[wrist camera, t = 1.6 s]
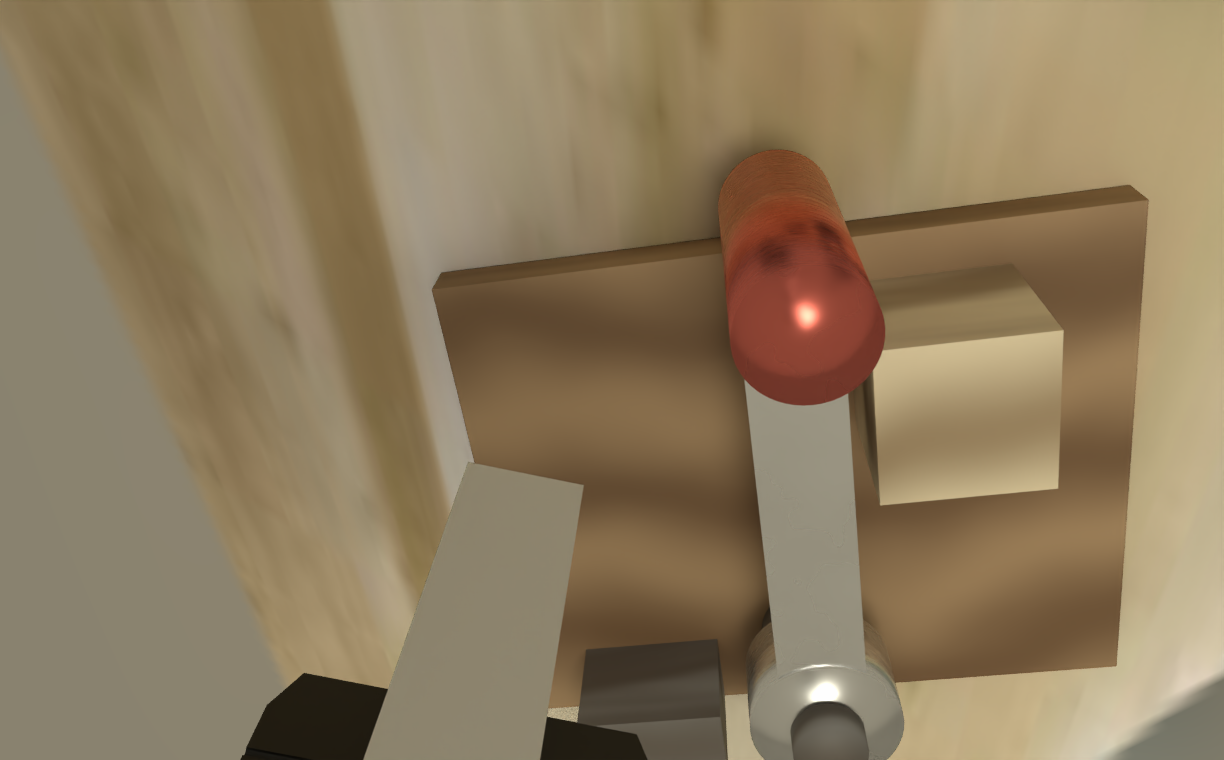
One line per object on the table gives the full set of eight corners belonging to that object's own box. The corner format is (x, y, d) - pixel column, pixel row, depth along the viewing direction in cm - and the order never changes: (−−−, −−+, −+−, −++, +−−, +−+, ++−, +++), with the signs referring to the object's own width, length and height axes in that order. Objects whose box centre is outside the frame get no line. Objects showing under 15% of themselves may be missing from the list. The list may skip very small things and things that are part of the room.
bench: (441, 272, 36) (383, 376, 29) (1129, 185, 33) (1246, 276, 26) (540, 682, 44) (513, 840, 37) (1102, 638, 41) (1186, 800, 34)
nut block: (847, 283, 33) (872, 351, 29) (1012, 263, 33) (1063, 330, 28) (855, 422, 36) (880, 505, 31) (1010, 405, 35) (1057, 488, 31)
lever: (680, 161, 30) (678, 281, 22) (861, 136, 29) (928, 250, 21) (752, 721, 39) (770, 951, 31) (891, 712, 39) (946, 944, 31)
